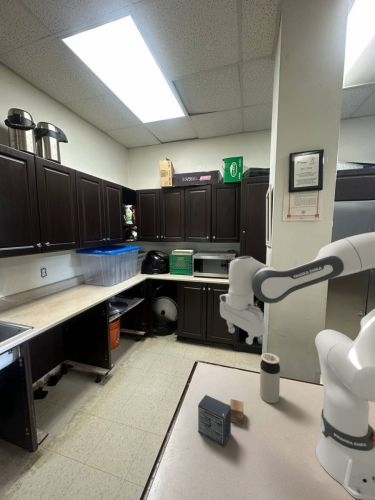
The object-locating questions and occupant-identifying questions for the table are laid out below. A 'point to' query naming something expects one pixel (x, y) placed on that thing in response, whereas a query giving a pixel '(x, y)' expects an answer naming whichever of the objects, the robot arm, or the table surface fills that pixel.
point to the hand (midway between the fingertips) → (239, 337)
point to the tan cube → (236, 411)
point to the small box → (214, 420)
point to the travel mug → (269, 378)
